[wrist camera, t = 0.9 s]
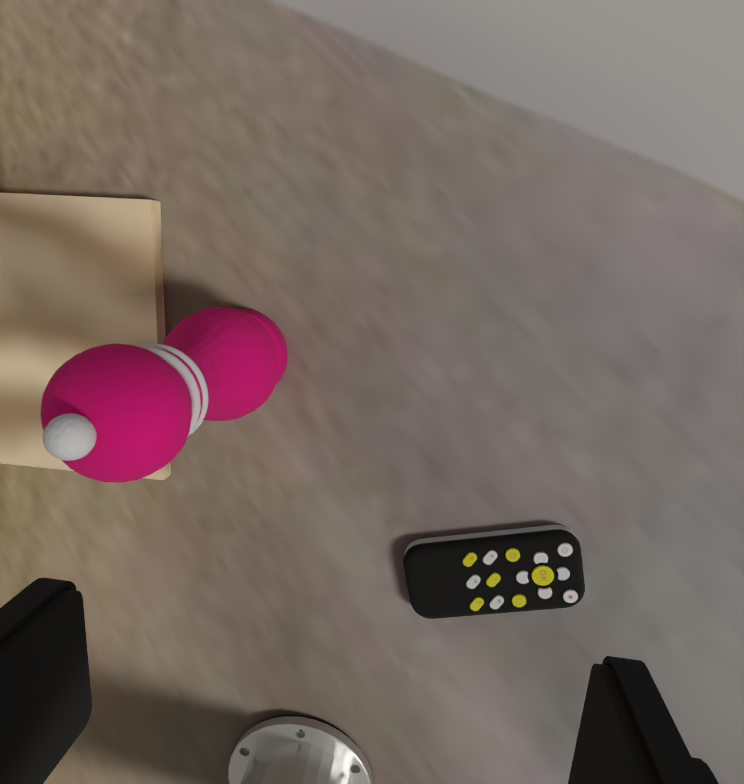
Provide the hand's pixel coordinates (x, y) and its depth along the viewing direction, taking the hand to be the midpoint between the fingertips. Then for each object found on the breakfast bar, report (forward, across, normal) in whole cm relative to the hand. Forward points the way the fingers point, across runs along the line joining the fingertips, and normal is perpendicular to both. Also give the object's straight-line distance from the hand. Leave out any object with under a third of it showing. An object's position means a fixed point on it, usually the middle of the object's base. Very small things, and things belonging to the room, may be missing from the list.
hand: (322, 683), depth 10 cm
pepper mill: (+29, +12, 0) cm, 31 cm away
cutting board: (+29, +26, 0) cm, 39 cm away
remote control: (+29, -7, +15) cm, 34 cm away
